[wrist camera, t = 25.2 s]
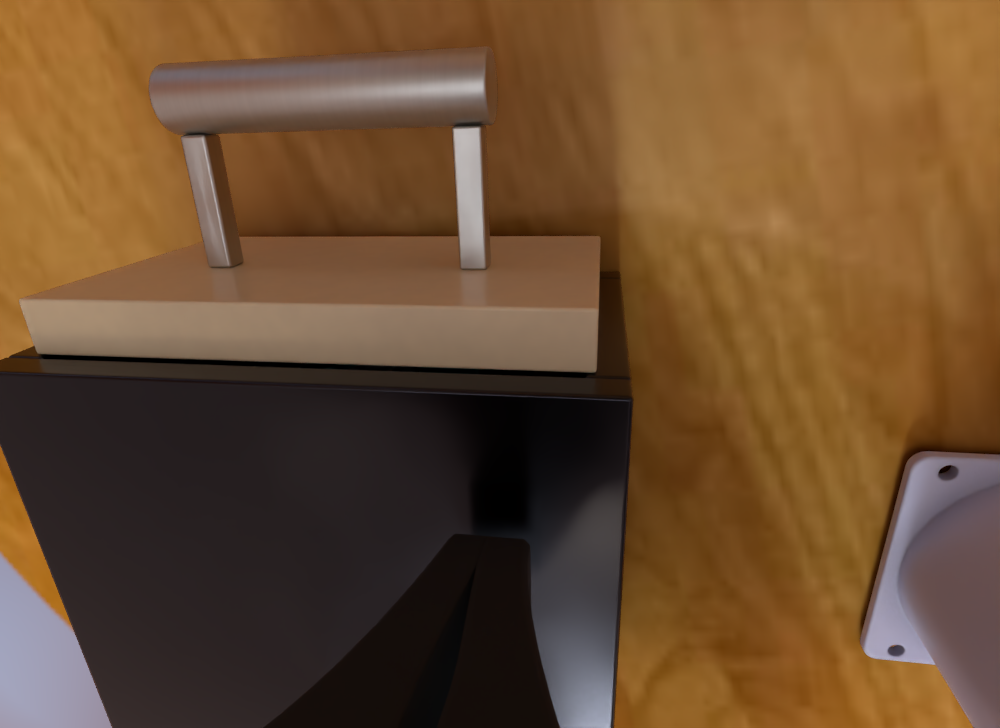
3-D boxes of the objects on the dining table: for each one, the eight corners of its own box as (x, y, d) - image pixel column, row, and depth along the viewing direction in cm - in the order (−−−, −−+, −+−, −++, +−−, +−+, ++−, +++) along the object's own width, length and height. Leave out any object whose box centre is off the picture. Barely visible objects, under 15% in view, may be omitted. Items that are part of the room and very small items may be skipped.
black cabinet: (225, 268, 19) (-32, 371, 12) (619, 271, 17) (634, 397, 10) (296, 613, 25) (155, 841, 17) (603, 645, 23) (602, 920, 15)
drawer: (185, 79, 16) (-69, 56, 10) (606, 58, 15) (608, 15, 8) (290, 587, 23) (176, 759, 17) (588, 616, 21) (581, 820, 15)
